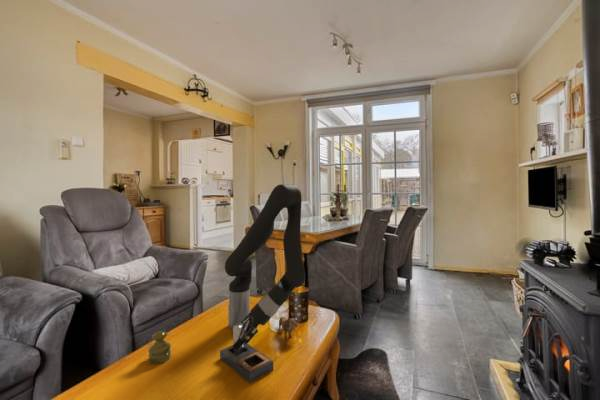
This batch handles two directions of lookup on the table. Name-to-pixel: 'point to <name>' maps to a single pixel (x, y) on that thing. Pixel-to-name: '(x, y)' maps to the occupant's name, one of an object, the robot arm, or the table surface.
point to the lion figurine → (287, 326)
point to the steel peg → (236, 335)
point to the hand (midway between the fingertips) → (234, 341)
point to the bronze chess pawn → (159, 348)
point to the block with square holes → (247, 362)
